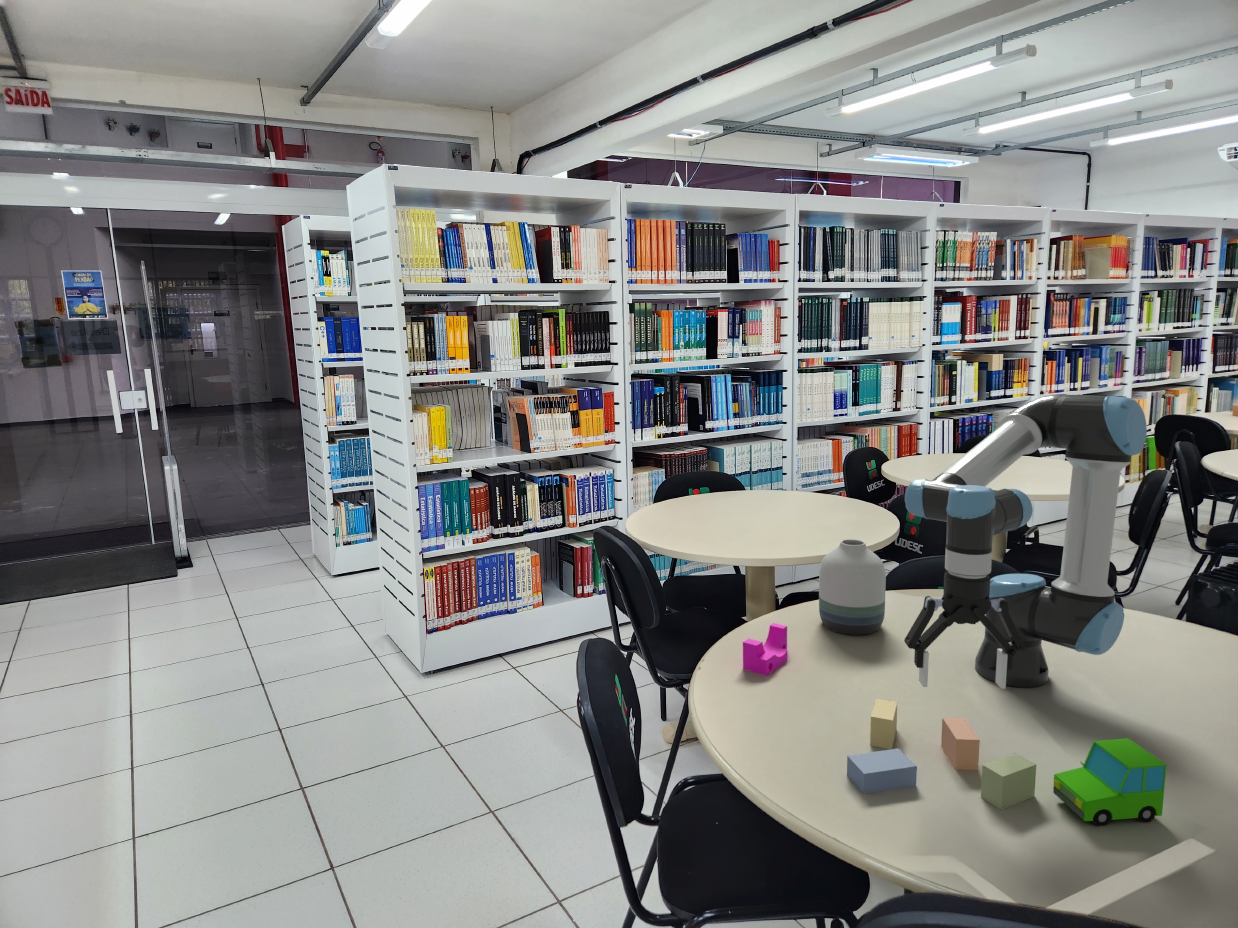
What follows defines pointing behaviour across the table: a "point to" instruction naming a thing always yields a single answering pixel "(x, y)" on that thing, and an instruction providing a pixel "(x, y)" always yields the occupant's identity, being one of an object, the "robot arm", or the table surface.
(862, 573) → the vase
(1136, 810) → the toy car
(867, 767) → the brick slate
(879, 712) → the brick ochre
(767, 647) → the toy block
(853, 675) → the table surface
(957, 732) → the brick terracotta
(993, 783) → the brick olive
